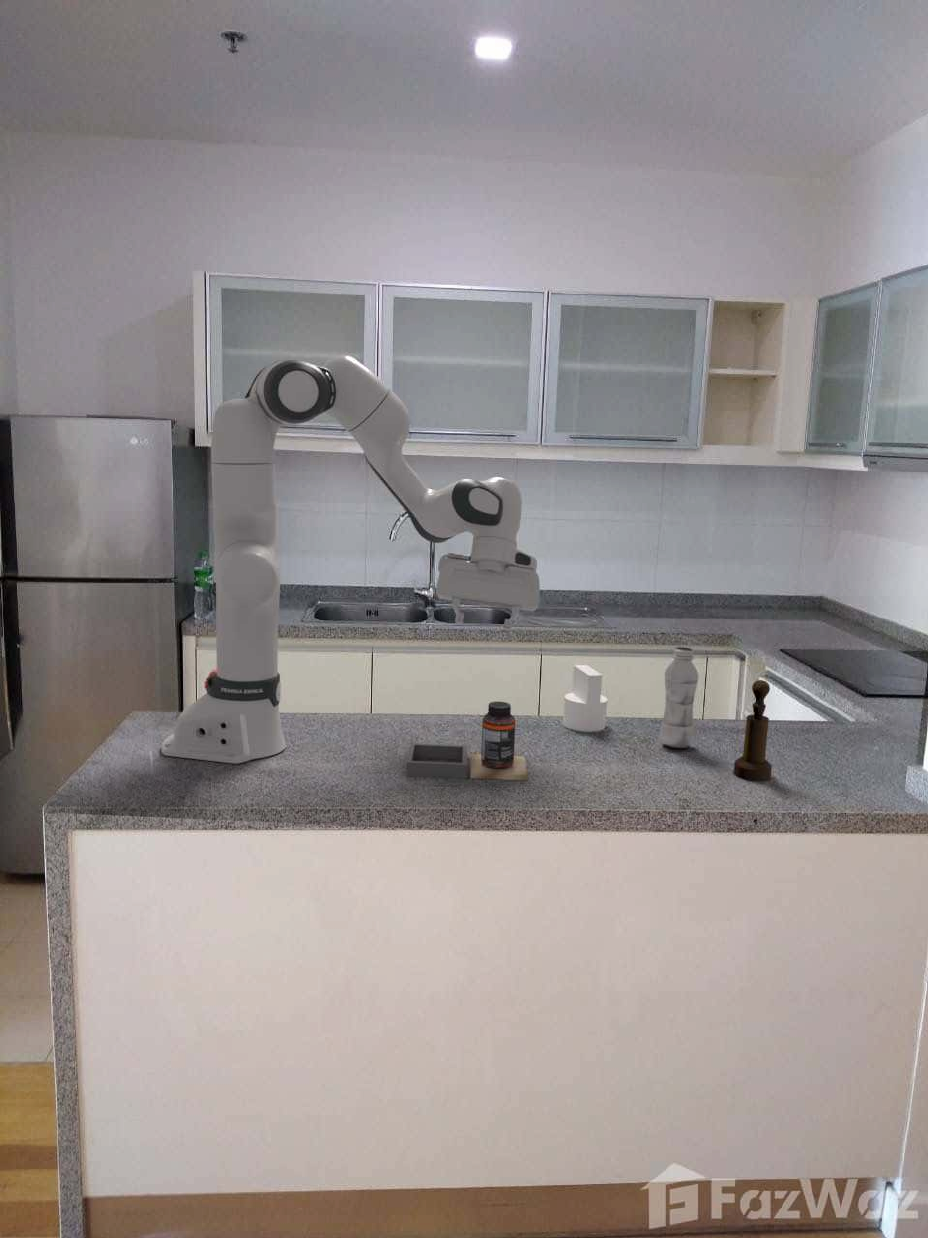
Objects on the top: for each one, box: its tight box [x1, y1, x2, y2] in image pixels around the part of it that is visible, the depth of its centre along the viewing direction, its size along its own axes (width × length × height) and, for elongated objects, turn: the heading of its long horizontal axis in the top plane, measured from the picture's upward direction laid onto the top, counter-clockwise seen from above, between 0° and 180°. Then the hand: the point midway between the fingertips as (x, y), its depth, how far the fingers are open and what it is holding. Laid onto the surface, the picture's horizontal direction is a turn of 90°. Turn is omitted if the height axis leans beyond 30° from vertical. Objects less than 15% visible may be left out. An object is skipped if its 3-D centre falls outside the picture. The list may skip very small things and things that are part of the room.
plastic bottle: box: [659, 646, 699, 749], centre depth 189 cm, size 6×7×20 cm
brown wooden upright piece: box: [733, 679, 773, 782], centre depth 175 cm, size 7×6×18 cm
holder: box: [405, 742, 468, 779], centre depth 173 cm, size 11×11×2 cm
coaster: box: [469, 753, 528, 781], centre depth 173 cm, size 10×10×1 cm
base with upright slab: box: [562, 664, 608, 733], centre depth 202 cm, size 9×9×12 cm
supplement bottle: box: [480, 701, 516, 769], centre depth 172 cm, size 6×6×11 cm
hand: (483, 625), depth 184 cm, fingers open, 8 cm apart
